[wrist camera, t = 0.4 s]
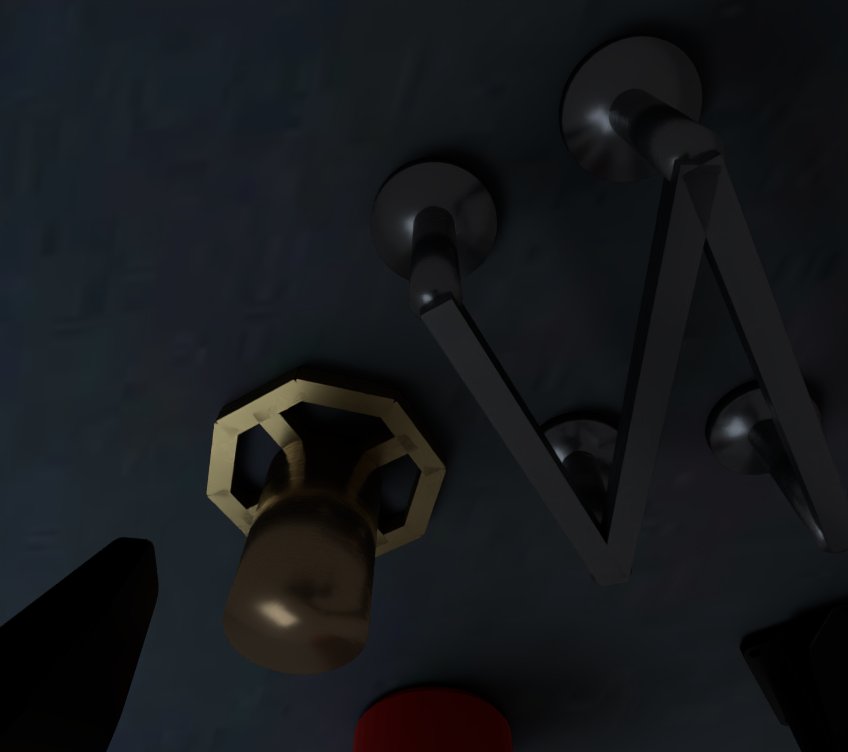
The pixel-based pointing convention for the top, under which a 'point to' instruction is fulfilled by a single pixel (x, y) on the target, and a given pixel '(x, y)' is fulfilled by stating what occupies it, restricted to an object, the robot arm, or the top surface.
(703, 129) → the zigzag metal pull handle
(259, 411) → the octagonal handwheel knob
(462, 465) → the top surface
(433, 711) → the soda can
